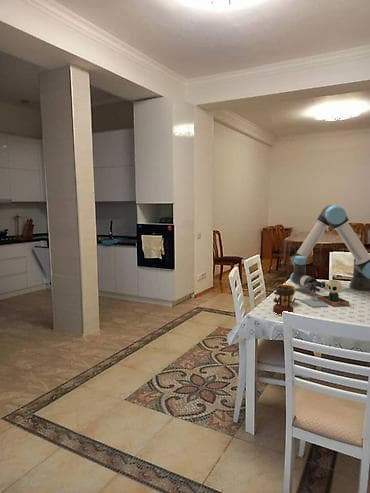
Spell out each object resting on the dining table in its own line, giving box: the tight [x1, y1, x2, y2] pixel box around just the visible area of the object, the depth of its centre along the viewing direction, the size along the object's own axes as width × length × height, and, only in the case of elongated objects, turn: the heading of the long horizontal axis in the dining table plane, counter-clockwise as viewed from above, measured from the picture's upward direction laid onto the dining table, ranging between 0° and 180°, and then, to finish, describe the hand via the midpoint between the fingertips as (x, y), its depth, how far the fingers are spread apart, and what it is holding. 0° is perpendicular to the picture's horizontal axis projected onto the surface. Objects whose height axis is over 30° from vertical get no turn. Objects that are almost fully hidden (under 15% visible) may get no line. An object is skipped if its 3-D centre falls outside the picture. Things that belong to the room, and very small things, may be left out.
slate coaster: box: [299, 298, 329, 308], centre depth 206 cm, size 10×14×1 cm
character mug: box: [324, 279, 344, 302], centre depth 207 cm, size 11×7×13 cm, turn 43°
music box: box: [272, 276, 301, 316], centre depth 187 cm, size 15×11×20 cm
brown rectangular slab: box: [317, 294, 350, 307], centre depth 208 cm, size 11×15×2 cm
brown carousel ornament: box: [277, 283, 297, 305], centre depth 207 cm, size 10×10×10 cm
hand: (333, 290), depth 207 cm, fingers open, 13 cm apart
